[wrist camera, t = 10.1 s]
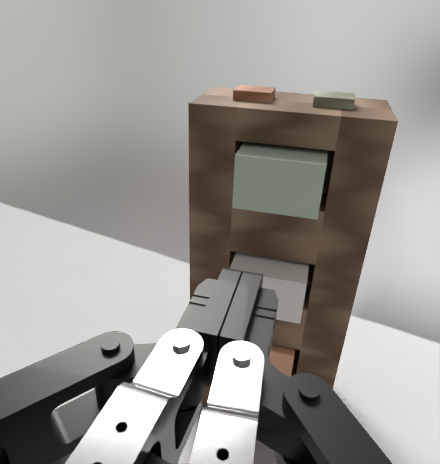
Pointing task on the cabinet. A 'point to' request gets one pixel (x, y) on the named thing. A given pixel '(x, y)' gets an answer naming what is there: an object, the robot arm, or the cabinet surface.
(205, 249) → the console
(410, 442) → the cabinet surface
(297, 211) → the key top
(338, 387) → the cabinet surface
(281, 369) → the block
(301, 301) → the key middle
